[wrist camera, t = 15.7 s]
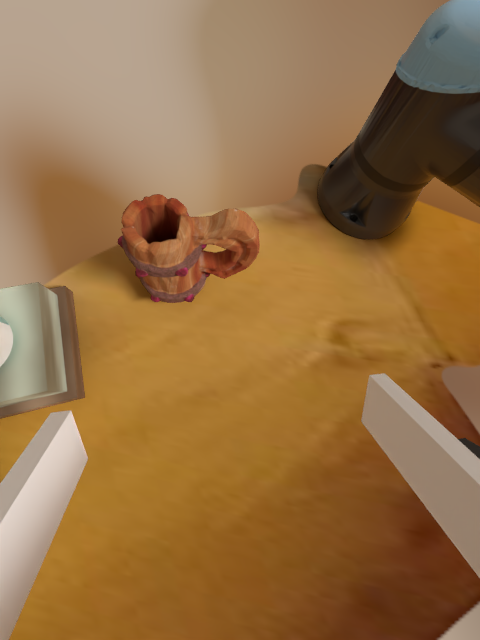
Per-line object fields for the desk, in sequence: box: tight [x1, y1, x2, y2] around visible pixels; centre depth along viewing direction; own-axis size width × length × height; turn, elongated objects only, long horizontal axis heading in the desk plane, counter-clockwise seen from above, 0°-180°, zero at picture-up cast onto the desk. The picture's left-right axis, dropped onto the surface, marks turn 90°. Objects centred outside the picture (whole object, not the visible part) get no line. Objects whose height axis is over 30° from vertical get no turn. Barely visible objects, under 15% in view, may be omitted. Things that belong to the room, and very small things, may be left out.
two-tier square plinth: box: [0, 282, 85, 418], centre depth 31 cm, size 14×14×6 cm
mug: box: [118, 194, 259, 303], centre depth 31 cm, size 15×8×15 cm, turn 92°
